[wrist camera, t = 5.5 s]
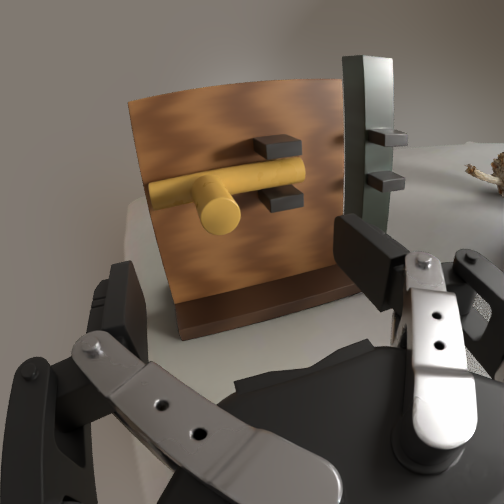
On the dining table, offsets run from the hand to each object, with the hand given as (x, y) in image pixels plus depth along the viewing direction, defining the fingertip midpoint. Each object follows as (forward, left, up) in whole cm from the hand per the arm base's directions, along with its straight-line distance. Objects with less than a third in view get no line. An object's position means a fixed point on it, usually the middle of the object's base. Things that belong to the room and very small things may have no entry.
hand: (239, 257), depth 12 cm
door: (+1, +13, -11) cm, 17 cm away
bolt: (-2, +7, -1) cm, 7 cm away
